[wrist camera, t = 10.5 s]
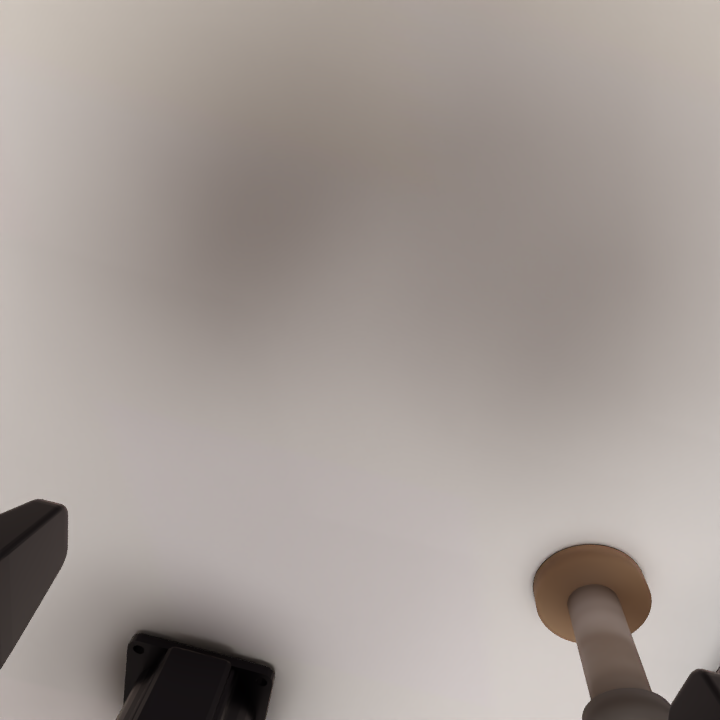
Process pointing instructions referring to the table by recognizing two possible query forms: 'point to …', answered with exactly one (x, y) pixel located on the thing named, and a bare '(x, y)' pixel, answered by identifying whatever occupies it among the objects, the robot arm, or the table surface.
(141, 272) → the table surface
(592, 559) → the peg stand
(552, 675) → the table surface
